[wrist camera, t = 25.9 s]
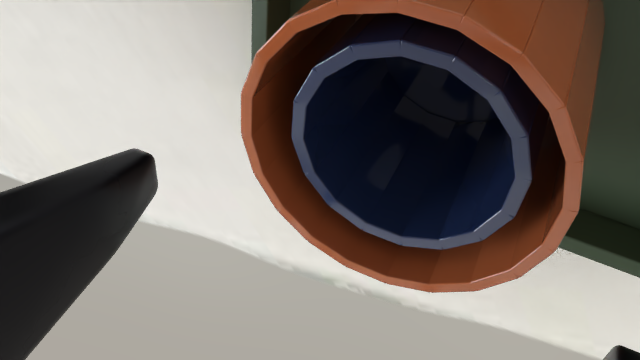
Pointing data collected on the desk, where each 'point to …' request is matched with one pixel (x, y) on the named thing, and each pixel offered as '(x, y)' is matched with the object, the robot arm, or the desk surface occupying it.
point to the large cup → (500, 39)
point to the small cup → (417, 133)
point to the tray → (604, 145)
